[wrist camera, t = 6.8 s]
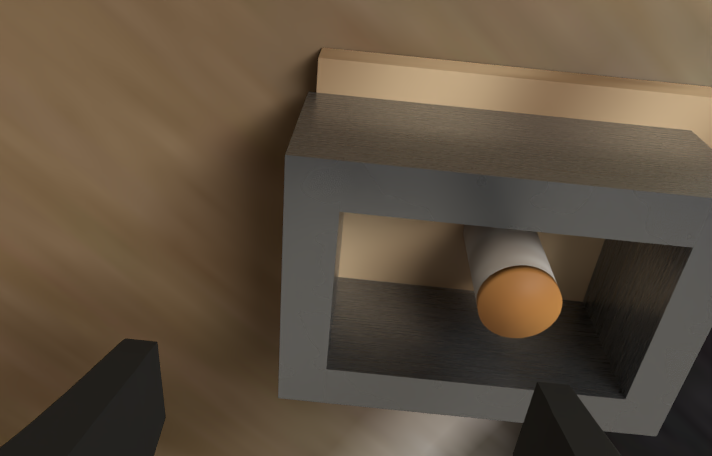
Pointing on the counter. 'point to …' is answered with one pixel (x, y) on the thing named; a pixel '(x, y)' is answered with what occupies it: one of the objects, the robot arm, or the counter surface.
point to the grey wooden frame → (499, 210)
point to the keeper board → (498, 94)
